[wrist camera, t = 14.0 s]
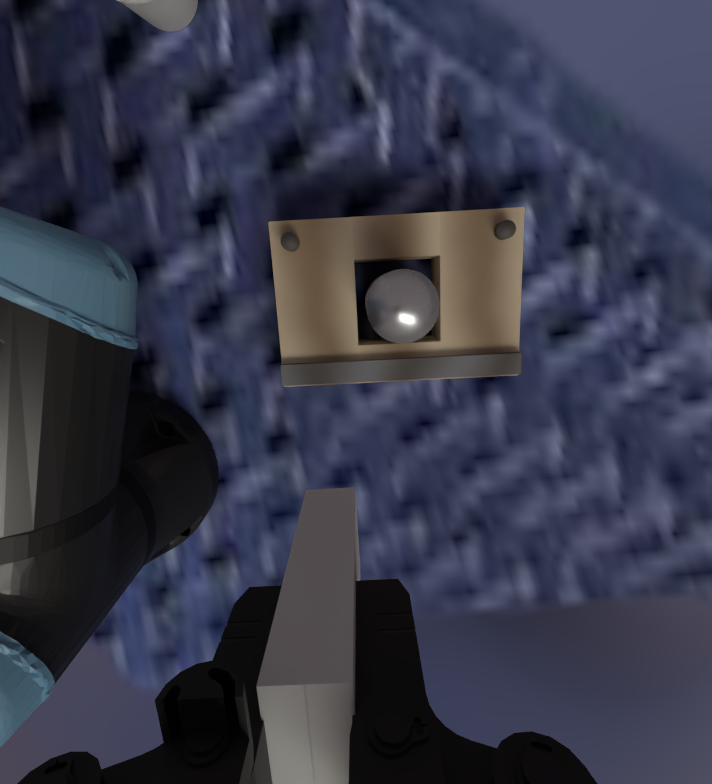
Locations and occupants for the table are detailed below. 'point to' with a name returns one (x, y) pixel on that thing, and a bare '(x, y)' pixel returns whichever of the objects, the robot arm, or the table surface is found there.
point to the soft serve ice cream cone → (164, 12)
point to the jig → (448, 274)
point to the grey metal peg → (402, 305)
